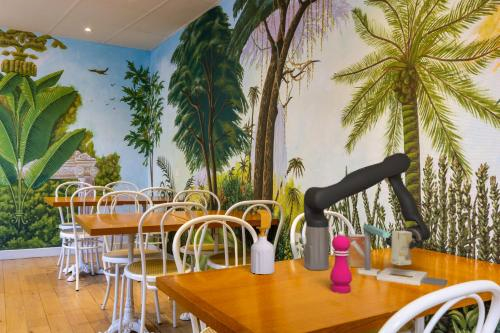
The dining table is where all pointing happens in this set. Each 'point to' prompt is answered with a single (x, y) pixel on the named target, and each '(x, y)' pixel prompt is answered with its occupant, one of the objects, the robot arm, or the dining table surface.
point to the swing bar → (376, 231)
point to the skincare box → (401, 248)
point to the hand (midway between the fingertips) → (400, 244)
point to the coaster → (435, 281)
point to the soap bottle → (262, 248)
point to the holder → (389, 269)
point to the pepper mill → (341, 265)
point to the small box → (356, 250)
